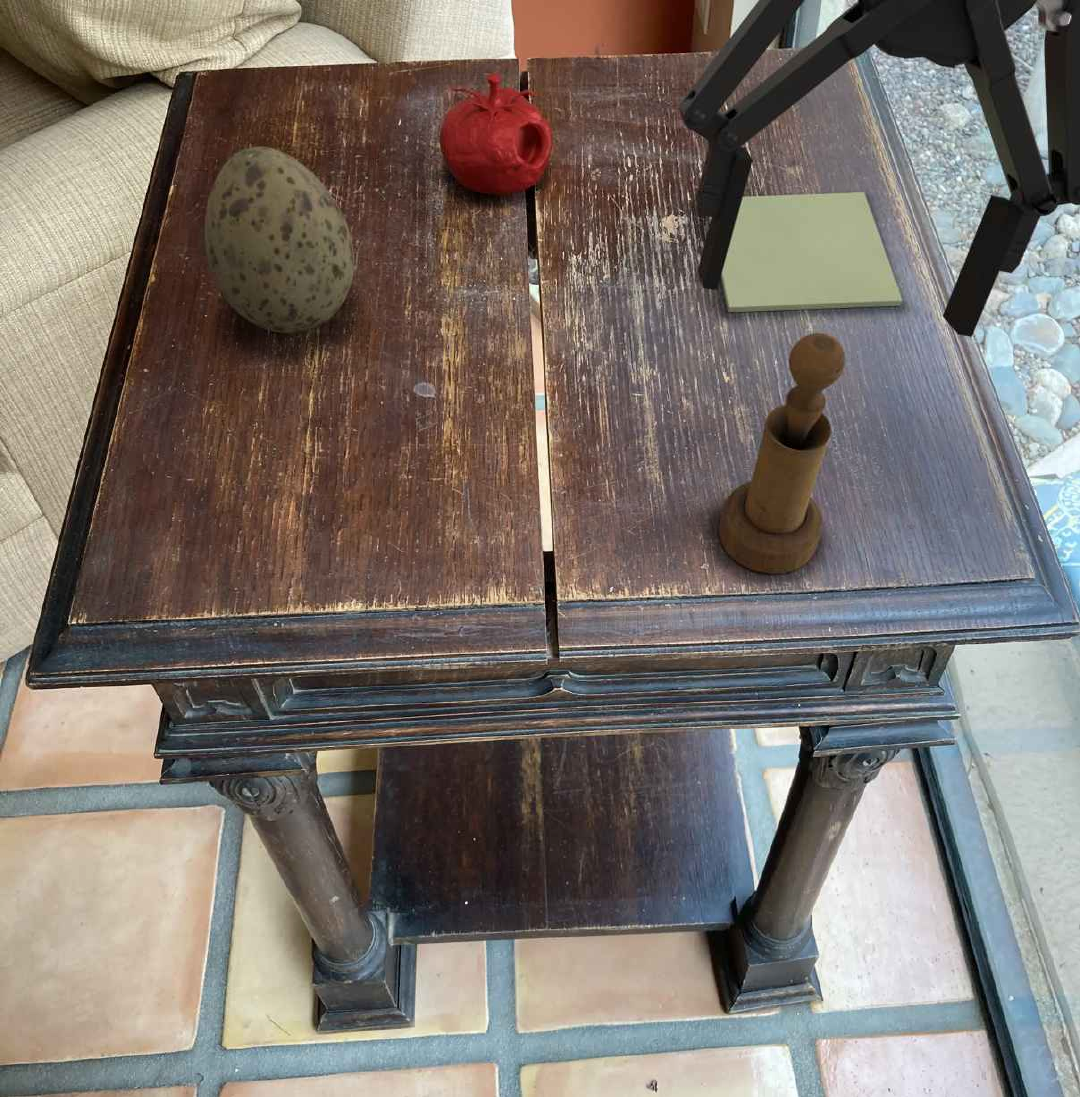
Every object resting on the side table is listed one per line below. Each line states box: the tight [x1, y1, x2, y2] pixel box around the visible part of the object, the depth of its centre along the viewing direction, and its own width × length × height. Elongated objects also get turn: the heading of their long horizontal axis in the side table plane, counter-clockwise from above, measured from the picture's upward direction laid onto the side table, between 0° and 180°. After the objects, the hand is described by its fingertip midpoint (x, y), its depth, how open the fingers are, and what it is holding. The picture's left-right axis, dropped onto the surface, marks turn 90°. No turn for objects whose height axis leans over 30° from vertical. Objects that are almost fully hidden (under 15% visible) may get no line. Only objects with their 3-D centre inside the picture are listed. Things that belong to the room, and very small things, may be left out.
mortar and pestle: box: [718, 332, 846, 575], centre depth 64 cm, size 7×6×18 cm
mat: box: [707, 191, 903, 313], centre depth 88 cm, size 14×14×1 cm
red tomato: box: [438, 72, 553, 196], centre depth 91 cm, size 10×10×9 cm
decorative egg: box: [204, 146, 355, 334], centre depth 79 cm, size 11×11×15 cm
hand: (832, 304), depth 55 cm, fingers open, 13 cm apart
